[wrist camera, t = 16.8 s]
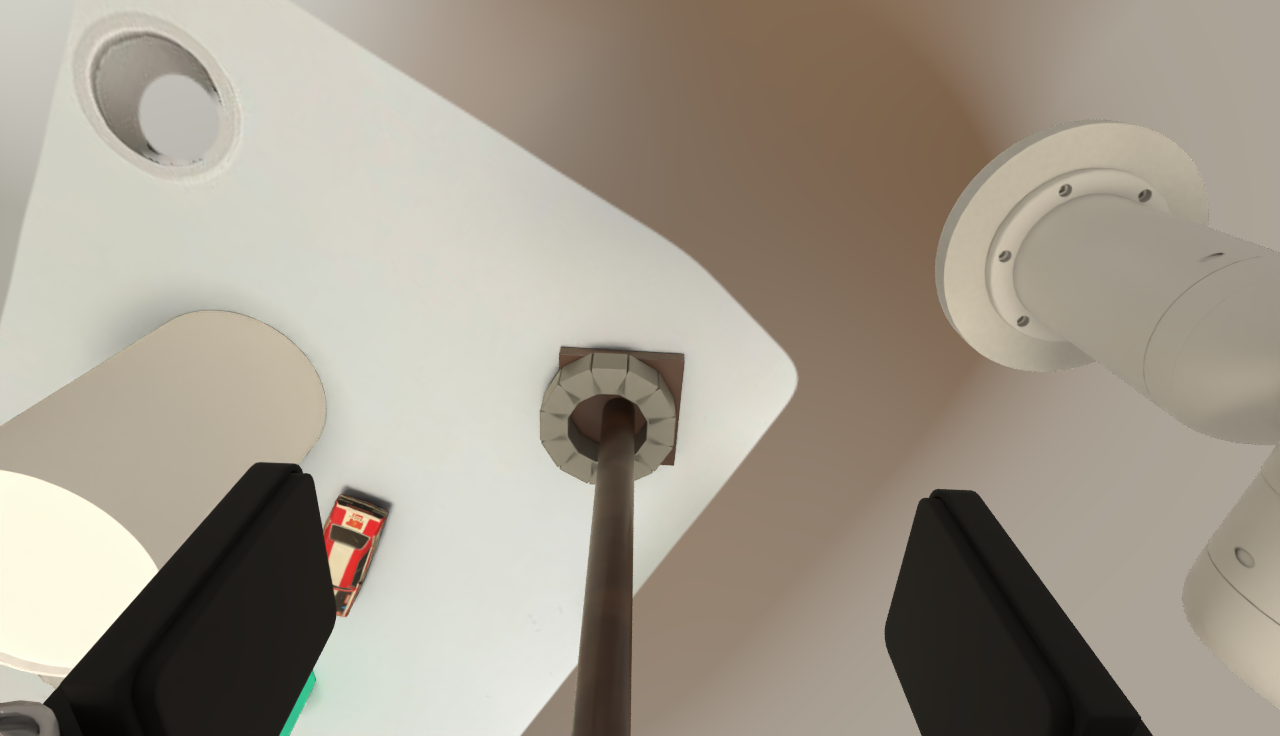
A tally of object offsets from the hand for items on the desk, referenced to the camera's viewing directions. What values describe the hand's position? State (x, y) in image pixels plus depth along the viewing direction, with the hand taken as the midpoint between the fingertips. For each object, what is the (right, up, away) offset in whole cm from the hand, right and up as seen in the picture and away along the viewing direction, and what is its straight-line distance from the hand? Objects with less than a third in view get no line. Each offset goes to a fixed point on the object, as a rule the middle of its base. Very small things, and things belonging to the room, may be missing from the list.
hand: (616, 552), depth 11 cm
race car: (-24, -12, +49) cm, 56 cm away
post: (-1, 0, +43) cm, 43 cm away
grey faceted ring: (-2, 0, +41) cm, 42 cm away
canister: (-30, +1, +42) cm, 52 cm away
